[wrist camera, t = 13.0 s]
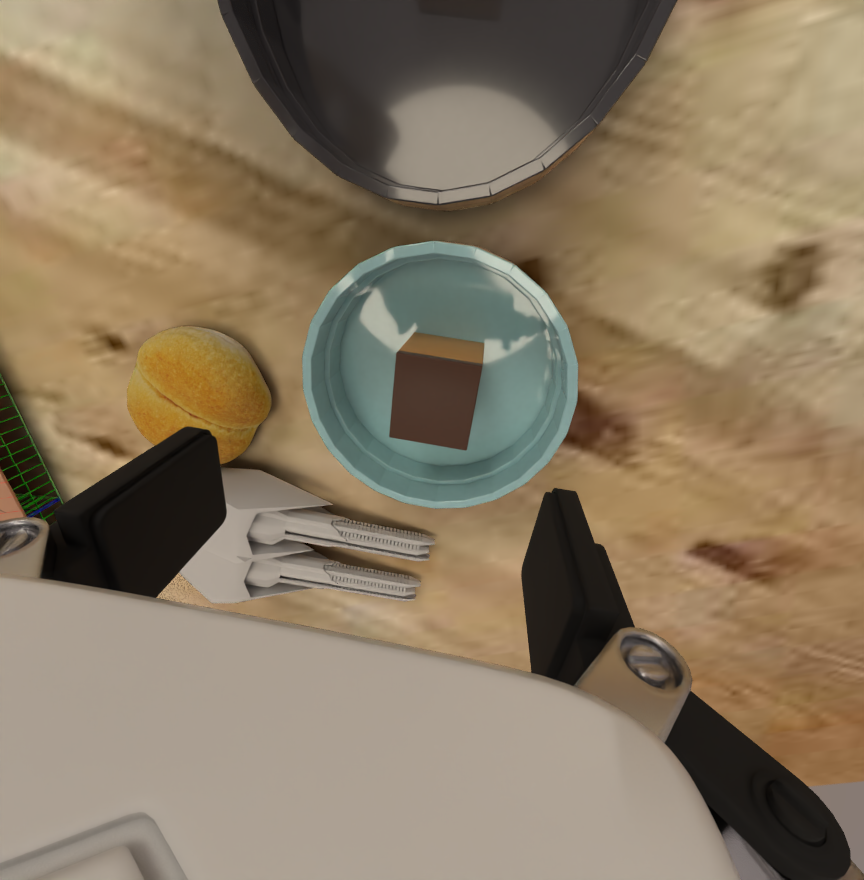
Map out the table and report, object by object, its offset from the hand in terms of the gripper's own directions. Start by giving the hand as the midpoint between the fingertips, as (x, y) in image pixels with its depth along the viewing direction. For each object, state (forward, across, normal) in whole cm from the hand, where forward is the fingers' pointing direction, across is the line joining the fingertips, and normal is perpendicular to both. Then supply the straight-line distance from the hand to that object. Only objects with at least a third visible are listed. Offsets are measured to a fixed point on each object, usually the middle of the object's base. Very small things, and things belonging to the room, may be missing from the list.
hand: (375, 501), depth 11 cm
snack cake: (+14, -1, 0) cm, 14 cm away
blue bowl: (+14, -1, 0) cm, 14 cm away
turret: (+14, +8, +14) cm, 22 cm away
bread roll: (+14, +14, +4) cm, 21 cm away
